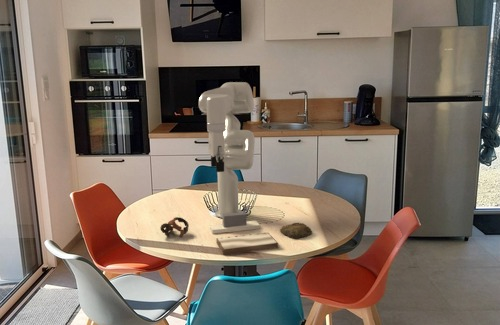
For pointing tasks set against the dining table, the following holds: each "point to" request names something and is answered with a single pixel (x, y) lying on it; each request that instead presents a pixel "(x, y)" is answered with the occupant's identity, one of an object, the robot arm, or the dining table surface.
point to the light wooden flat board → (246, 243)
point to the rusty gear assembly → (175, 226)
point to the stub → (234, 223)
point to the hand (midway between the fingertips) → (217, 169)
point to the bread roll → (296, 230)
